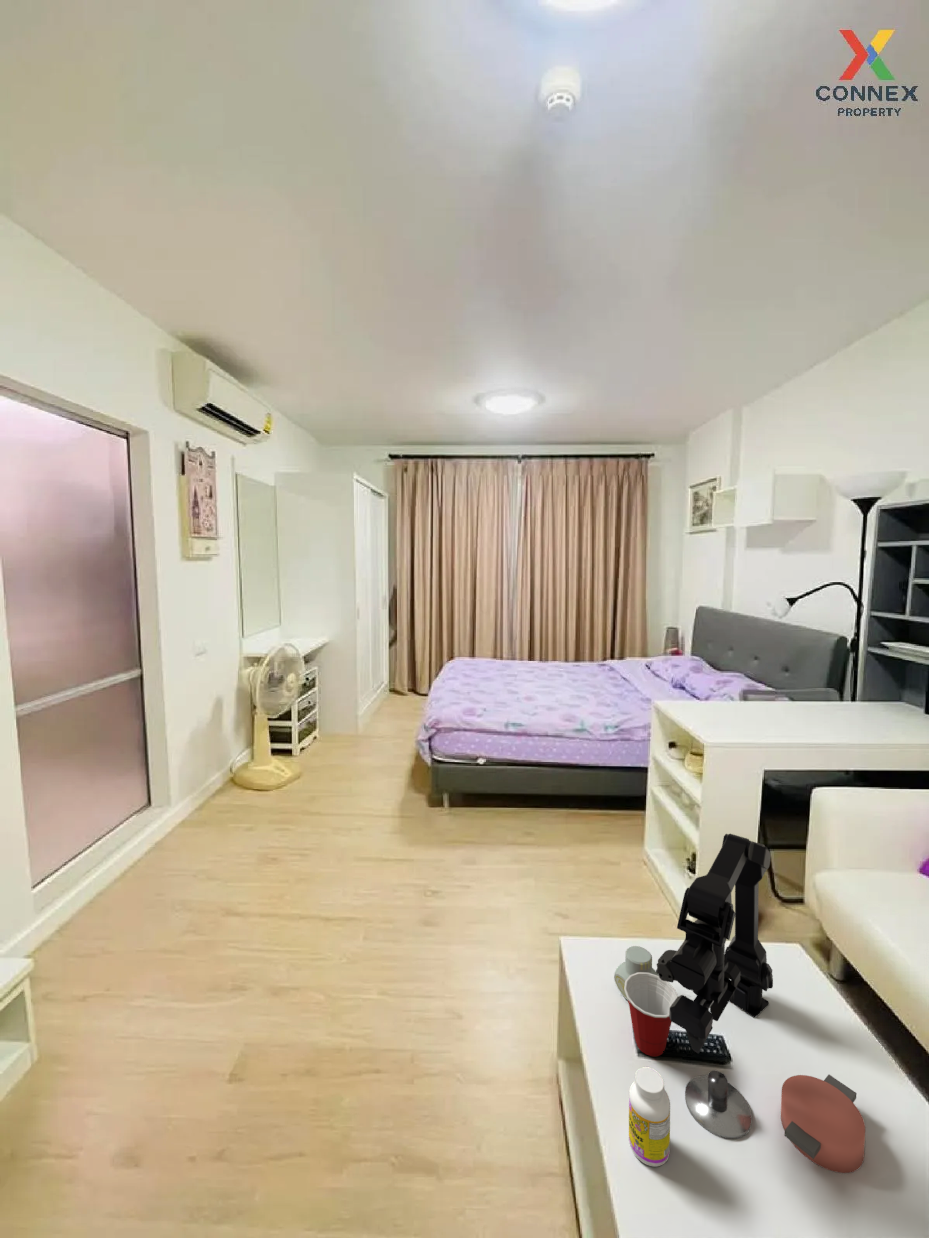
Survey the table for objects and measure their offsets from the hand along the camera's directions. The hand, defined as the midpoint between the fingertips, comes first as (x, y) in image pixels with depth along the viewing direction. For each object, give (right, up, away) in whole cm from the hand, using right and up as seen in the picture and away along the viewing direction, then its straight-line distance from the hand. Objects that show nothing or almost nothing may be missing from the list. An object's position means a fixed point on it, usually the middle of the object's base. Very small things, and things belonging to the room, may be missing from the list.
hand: (705, 1034), depth 98 cm
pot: (+17, -13, -6) cm, 22 cm away
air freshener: (-4, -11, +25) cm, 28 cm away
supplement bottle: (-13, -14, -7) cm, 20 cm away
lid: (+2, -13, -1) cm, 13 cm away
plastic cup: (-6, -12, +12) cm, 18 cm away
